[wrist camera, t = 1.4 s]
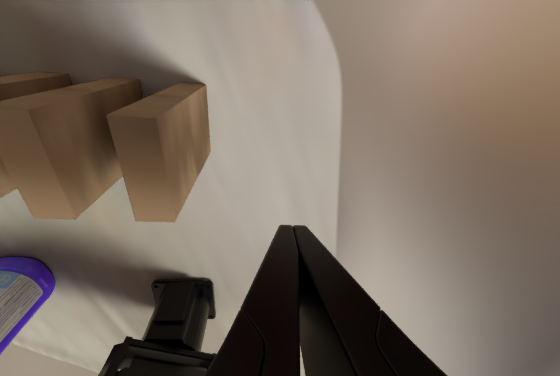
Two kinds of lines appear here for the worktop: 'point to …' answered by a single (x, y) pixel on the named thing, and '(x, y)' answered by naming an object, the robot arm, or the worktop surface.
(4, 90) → the domino
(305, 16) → the worktop surface
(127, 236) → the worktop surface
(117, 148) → the domino
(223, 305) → the worktop surface
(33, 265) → the bottle
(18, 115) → the domino
